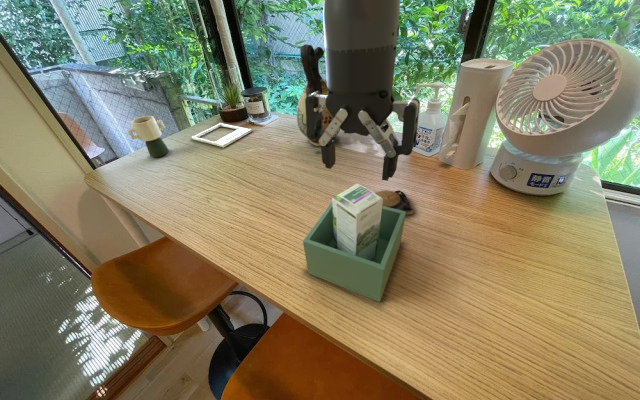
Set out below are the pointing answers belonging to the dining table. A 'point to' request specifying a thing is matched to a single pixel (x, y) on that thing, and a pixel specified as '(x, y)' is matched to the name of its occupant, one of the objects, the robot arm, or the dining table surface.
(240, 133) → the photo frame
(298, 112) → the ceramic jug
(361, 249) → the syrup box
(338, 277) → the tote
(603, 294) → the dining table surface
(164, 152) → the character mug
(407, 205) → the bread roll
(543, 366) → the dining table surface
